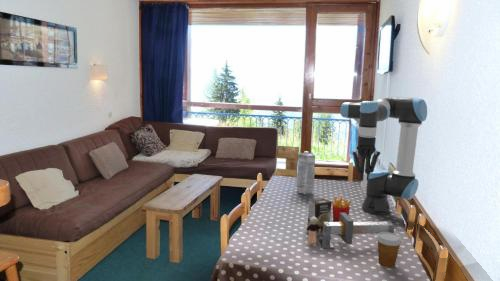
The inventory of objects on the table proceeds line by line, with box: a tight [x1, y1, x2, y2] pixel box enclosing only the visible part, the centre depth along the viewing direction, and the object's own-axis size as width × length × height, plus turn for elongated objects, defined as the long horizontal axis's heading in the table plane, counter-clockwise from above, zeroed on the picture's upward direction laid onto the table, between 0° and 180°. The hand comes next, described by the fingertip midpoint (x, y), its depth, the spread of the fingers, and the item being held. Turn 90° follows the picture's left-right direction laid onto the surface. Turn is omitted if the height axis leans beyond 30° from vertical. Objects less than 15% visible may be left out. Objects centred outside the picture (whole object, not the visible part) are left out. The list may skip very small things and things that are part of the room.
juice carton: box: [296, 150, 316, 195], centre depth 255 cm, size 9×10×27 cm
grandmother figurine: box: [304, 217, 321, 246], centre depth 177 cm, size 8×4×13 cm, turn 119°
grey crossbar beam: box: [317, 220, 395, 250], centre depth 178 cm, size 34×8×10 cm, turn 97°
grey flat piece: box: [337, 213, 355, 245], centre depth 177 cm, size 2×10×10 cm, turn 7°
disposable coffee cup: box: [376, 232, 402, 269], centre depth 160 cm, size 10×10×12 cm
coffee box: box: [306, 198, 332, 237], centre depth 190 cm, size 9×6×16 cm
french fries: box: [330, 196, 352, 222], centre depth 200 cm, size 9×8×15 cm
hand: (363, 187), depth 181 cm, fingers closed
